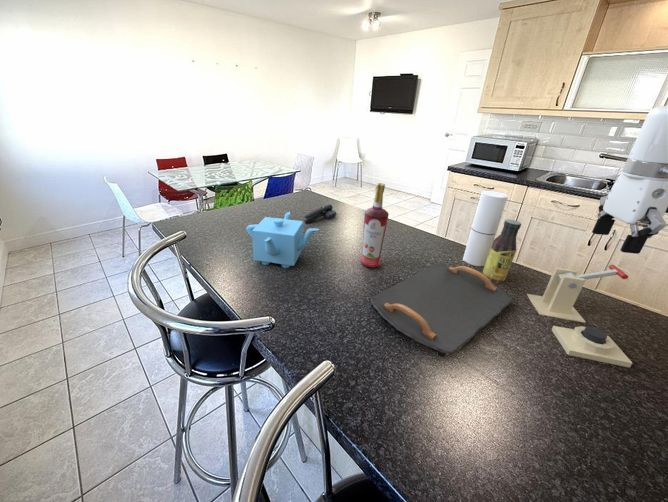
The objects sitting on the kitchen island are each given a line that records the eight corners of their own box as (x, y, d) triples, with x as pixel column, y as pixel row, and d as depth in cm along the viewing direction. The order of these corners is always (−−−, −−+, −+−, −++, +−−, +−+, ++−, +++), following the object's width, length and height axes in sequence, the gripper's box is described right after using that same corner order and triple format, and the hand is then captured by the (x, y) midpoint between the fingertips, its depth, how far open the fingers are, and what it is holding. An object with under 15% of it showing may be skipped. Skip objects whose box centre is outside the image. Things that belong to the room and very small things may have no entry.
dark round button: (597, 334, 67) (601, 328, 66) (607, 346, 64) (611, 340, 63) (578, 330, 68) (581, 324, 67) (587, 342, 64) (591, 336, 64)
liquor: (357, 268, 97) (366, 186, 86) (360, 257, 104) (369, 180, 92) (380, 272, 95) (392, 188, 84) (381, 261, 102) (393, 182, 90)
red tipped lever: (615, 270, 74) (614, 261, 73) (628, 280, 69) (627, 272, 69) (556, 279, 79) (555, 271, 78) (566, 289, 74) (564, 281, 74)
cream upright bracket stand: (566, 304, 82) (583, 268, 77) (584, 325, 74) (604, 287, 70) (525, 297, 85) (539, 261, 80) (538, 317, 77) (555, 279, 72)
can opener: (327, 212, 143) (328, 201, 141) (338, 216, 138) (338, 205, 136) (299, 221, 133) (299, 209, 131) (309, 226, 128) (309, 214, 126)
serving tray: (440, 267, 99) (444, 250, 96) (517, 303, 82) (524, 284, 79) (360, 310, 78) (362, 291, 75) (442, 372, 61) (448, 349, 58)
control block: (604, 343, 69) (612, 330, 68) (627, 370, 62) (637, 356, 60) (550, 332, 72) (556, 319, 70) (566, 357, 65) (573, 344, 63)
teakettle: (244, 253, 104) (241, 215, 98) (290, 242, 113) (290, 206, 107) (267, 280, 90) (266, 237, 84) (318, 264, 99) (319, 224, 93)
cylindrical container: (457, 259, 104) (476, 191, 94) (473, 256, 106) (493, 189, 96) (474, 269, 98) (495, 198, 88) (490, 266, 100) (513, 196, 90)
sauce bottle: (492, 286, 89) (513, 227, 81) (476, 275, 95) (494, 218, 86) (509, 283, 91) (531, 225, 83) (492, 273, 96) (511, 216, 88)
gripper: (713, 181, 53) (665, 263, 60) (639, 162, 68) (607, 229, 75) (662, 178, 54) (621, 258, 61) (600, 160, 70) (573, 226, 77)
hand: (613, 242), depth 68 cm, fingers open, 9 cm apart
